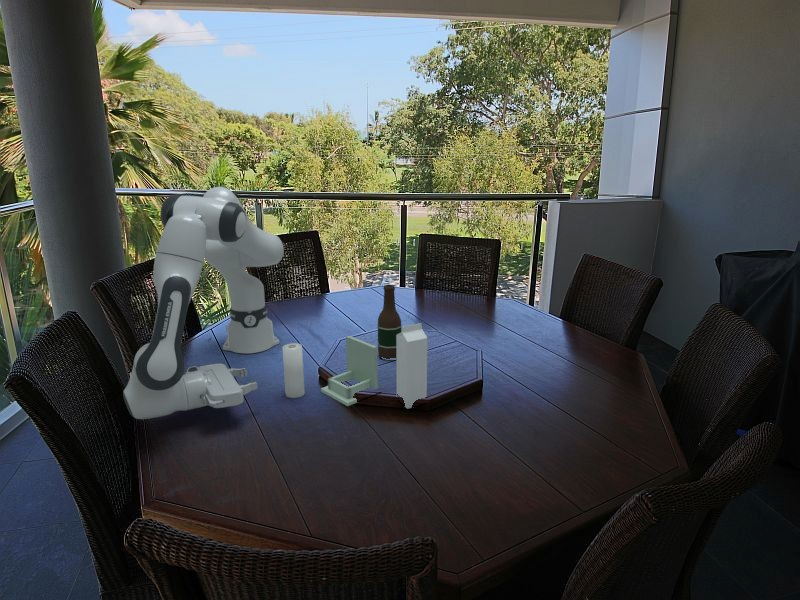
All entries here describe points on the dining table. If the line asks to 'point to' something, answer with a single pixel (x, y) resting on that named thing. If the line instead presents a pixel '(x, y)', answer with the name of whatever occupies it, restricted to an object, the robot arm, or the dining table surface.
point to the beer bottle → (388, 325)
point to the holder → (355, 372)
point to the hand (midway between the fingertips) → (251, 378)
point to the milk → (411, 364)
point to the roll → (293, 370)
